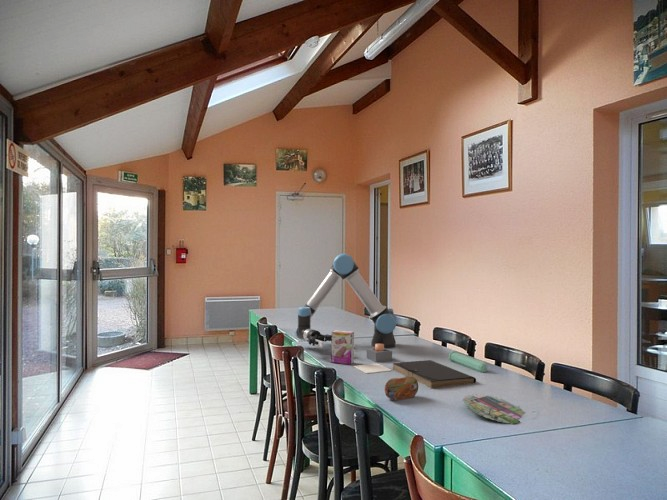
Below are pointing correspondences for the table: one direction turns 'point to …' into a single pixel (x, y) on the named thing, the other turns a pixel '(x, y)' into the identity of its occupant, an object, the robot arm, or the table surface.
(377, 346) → the button
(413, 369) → the dark brown book
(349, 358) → the candy bar box
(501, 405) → the city model
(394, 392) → the tin
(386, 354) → the button housing
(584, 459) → the table surface
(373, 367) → the paper sheet
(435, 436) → the table surface
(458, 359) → the container
